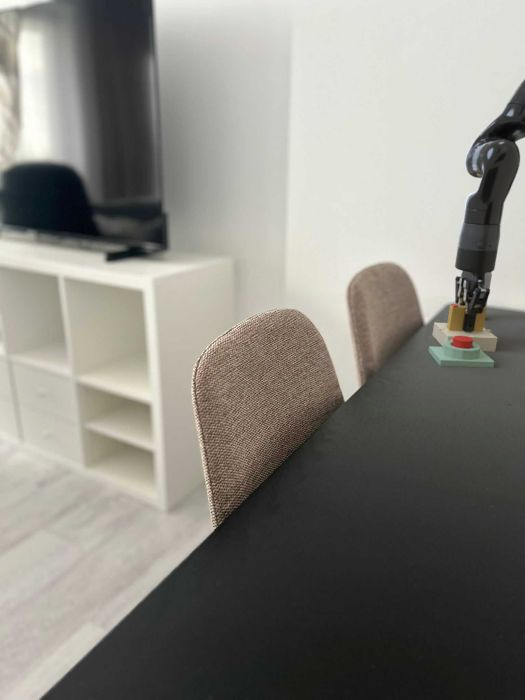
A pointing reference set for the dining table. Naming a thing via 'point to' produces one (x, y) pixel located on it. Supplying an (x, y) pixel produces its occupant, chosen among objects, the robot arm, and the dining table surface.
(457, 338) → the button
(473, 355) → the button box
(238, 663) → the dining table surface
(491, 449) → the dining table surface
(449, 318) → the mustard yellow slab
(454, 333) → the panel
